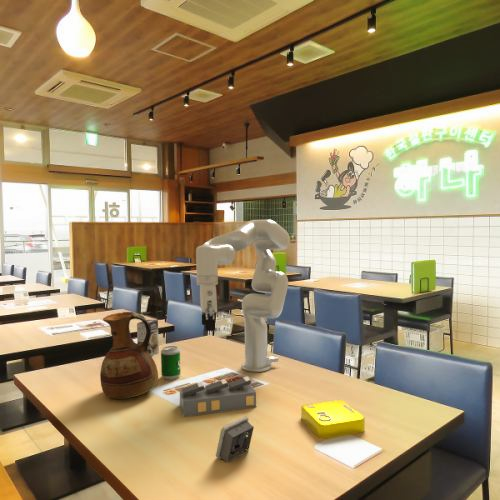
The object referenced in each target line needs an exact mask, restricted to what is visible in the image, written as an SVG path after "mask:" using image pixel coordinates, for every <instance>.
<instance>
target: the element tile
mask: <svg viewBox="0 0 500 500" xmlns="http://www.w3.org/2000/svg"><path fill="white" fill-rule="evenodd" d="M300 409H301V411H300V412H301V415H300V416H301V418H300V419H301V421H302V422H303V423H304V424H305V426H307V427H308V428H309V429H310V430H311V431H312V433H313V434H314V435H316V437H318V438H319V439H327V440H328V439H331V438H336V437H337V438H338V437H344V436H349V435H355V434H361V433H364V432H365V430H366V429H365V427H366V426H365V425H366V424H365V420H366V419H365V416H364V415H363V414H361V413H360V412H359V411H357V410H356V409H355V408H354V407H352V406H351V405H350V404H349V403H348V402H346V401H344V400H343V399H334V400H328V401H322V402H315V403H314V402H313V403H307V404H302V405H301V408H300Z"/></svg>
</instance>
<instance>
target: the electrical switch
mask: <svg viewBox="0 0 500 500" xmlns="http://www.w3.org/2000/svg"><path fill="white" fill-rule="evenodd" d="M254 427H255V426H254V425H252V424H251V423H250V419H249V417H248V416H243V417H242V418H239V419H237V420H235V421H232V422H231V423H229V424H226V425H224V426H222V427H221V429H220V432H219V433H220V434H219V439H218V443H217V449H216V453H215V457H216V458H217V459H218V460H219V459H222V460H224V461H225V462H226V463H228V464H229V462H231V461H233V460H235V459H237V458H238V457H240V456H242V455H244V454H246V453H248V452H249V449H250V445H251V443H252V437H253V432H254Z"/></svg>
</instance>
